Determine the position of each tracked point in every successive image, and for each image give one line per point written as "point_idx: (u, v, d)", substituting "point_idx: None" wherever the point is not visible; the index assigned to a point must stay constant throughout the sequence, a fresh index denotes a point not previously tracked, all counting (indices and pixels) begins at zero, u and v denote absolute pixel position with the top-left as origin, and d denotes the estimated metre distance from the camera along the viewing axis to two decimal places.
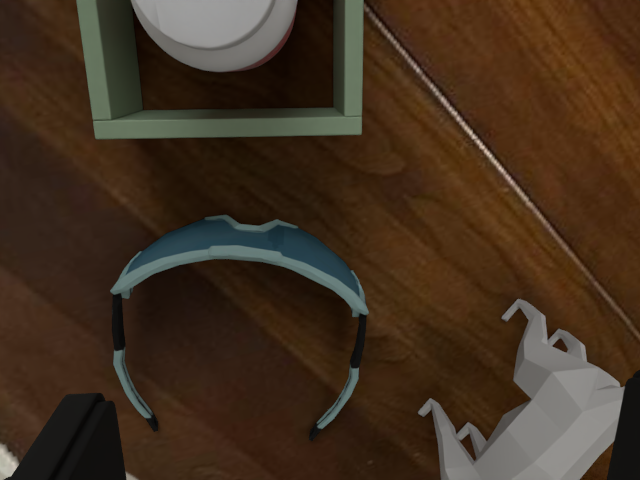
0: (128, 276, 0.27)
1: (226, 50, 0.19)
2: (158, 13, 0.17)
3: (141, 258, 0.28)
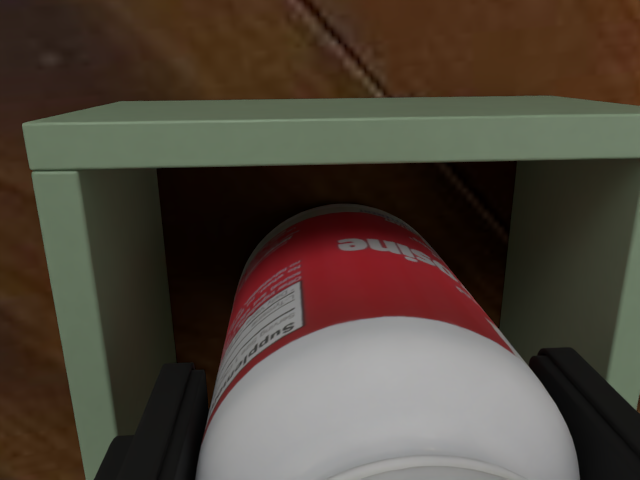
0: None
1: None
2: None
3: None
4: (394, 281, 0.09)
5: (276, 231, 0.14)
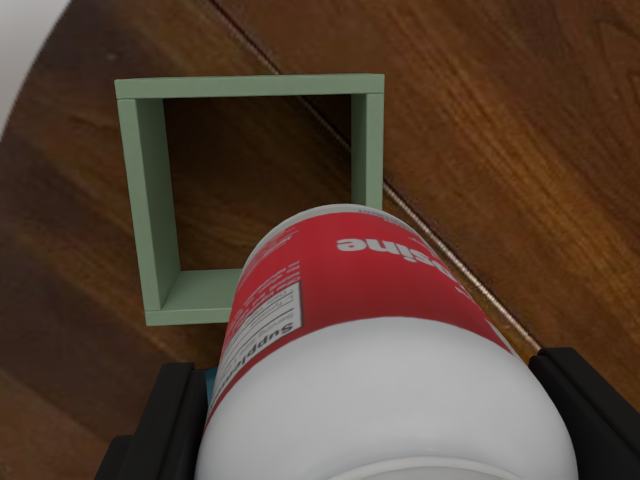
0: None
1: None
2: None
3: None
4: (392, 281, 0.09)
5: (275, 231, 0.14)
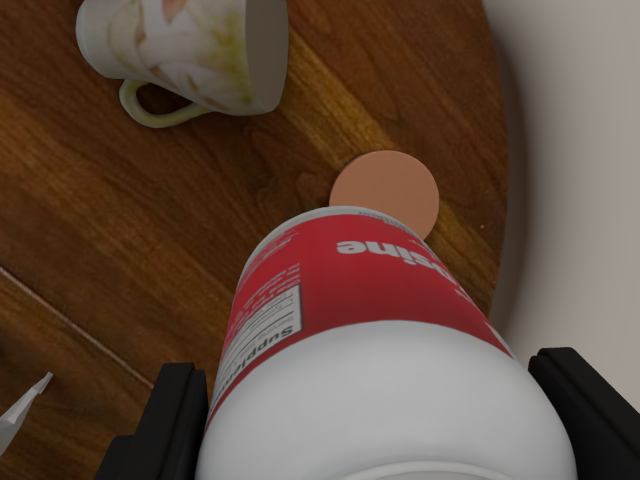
0: None
1: None
2: None
3: None
4: (392, 285, 0.09)
5: (275, 233, 0.14)
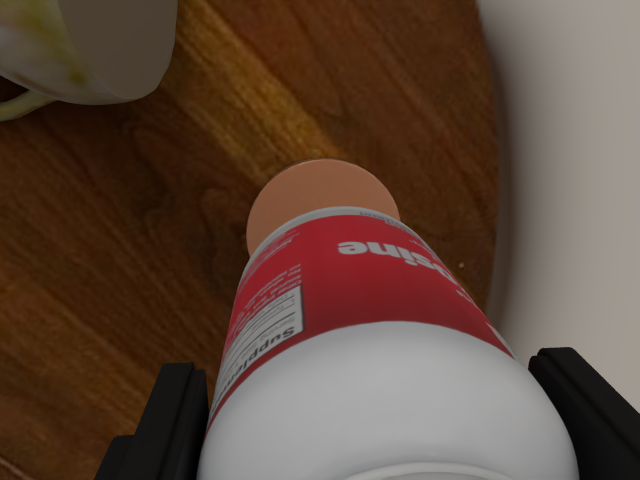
0: None
1: None
2: None
3: None
4: (394, 285, 0.09)
5: (276, 234, 0.14)
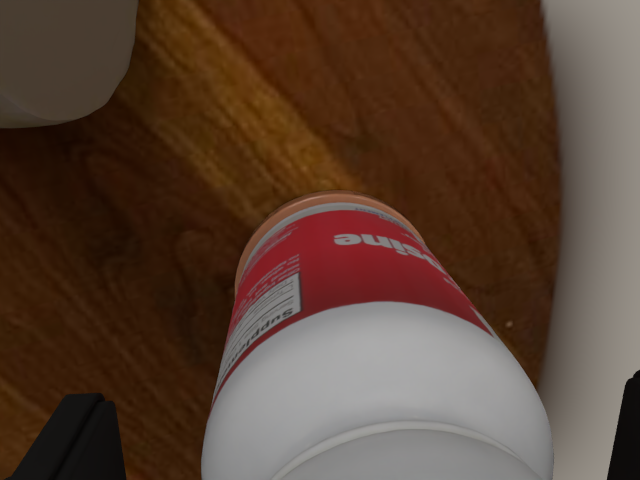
0: None
1: None
2: None
3: None
4: (384, 272, 0.10)
5: (276, 228, 0.15)
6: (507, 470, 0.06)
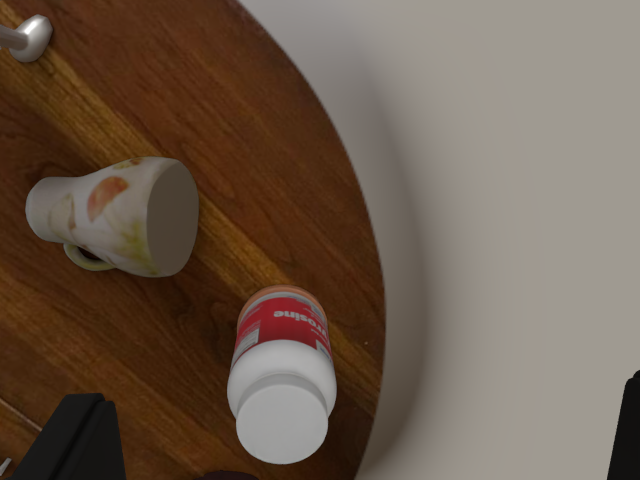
0: None
1: None
2: (255, 449, 0.27)
3: None
4: (286, 328, 0.31)
5: (254, 304, 0.36)
6: (302, 382, 0.27)
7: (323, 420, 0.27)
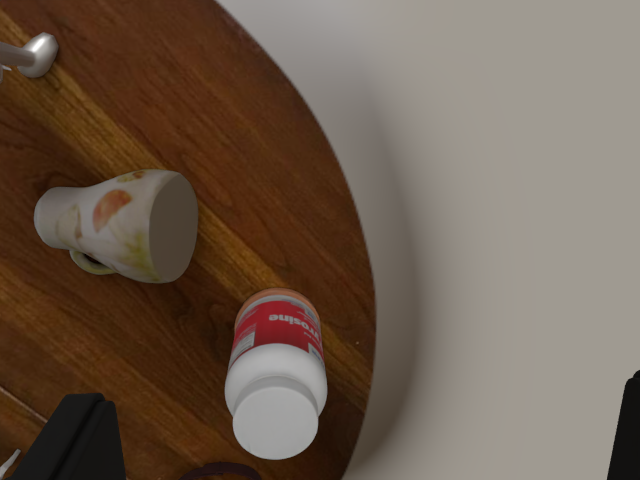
0: None
1: None
2: (250, 445, 0.29)
3: None
4: (280, 332, 0.33)
5: (251, 306, 0.38)
6: (295, 384, 0.29)
7: (314, 419, 0.29)
